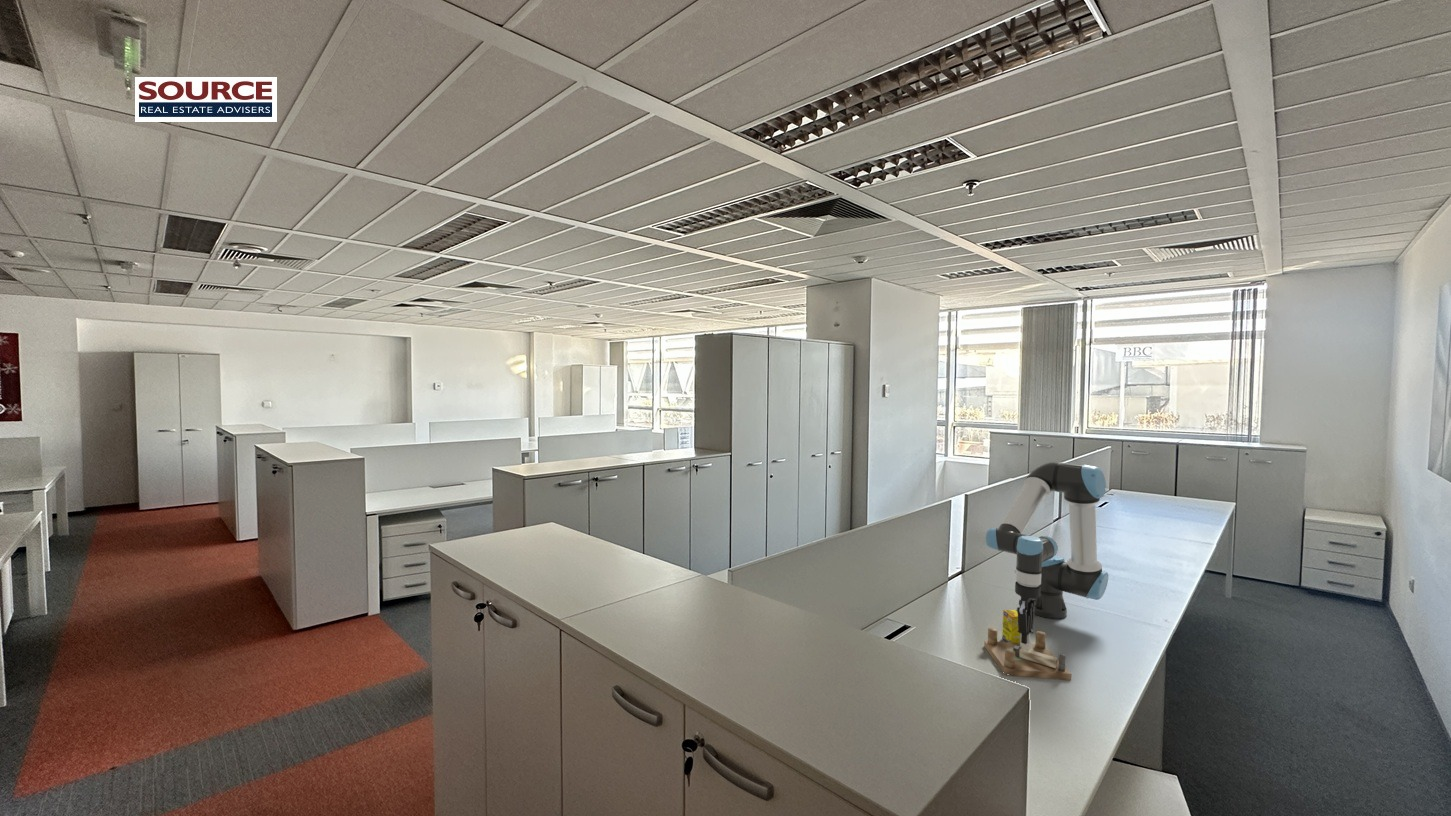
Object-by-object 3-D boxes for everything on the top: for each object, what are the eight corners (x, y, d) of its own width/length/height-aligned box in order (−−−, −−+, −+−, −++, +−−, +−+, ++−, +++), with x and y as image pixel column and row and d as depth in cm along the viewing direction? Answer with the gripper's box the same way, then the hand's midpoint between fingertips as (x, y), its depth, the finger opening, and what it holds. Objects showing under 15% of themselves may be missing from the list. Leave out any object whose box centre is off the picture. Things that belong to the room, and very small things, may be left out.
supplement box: (1001, 638, 208) (1002, 609, 207) (1017, 638, 208) (1018, 609, 208) (1011, 646, 202) (1012, 616, 201) (1027, 646, 202) (1028, 616, 202)
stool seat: (1043, 650, 199) (1044, 630, 199) (1071, 679, 179) (1072, 658, 179) (984, 646, 202) (985, 627, 201) (1004, 674, 182) (1005, 653, 181)
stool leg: (1057, 665, 183) (1057, 657, 183) (1055, 668, 181) (1055, 660, 181) (1015, 652, 192) (1015, 645, 192) (1012, 655, 190) (1013, 647, 190)
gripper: (1022, 575, 196) (1018, 641, 198) (1009, 585, 187) (1006, 654, 188) (1045, 581, 191) (1042, 649, 192) (1034, 591, 182) (1030, 662, 183)
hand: (1024, 651), depth 190 cm, fingers closed
